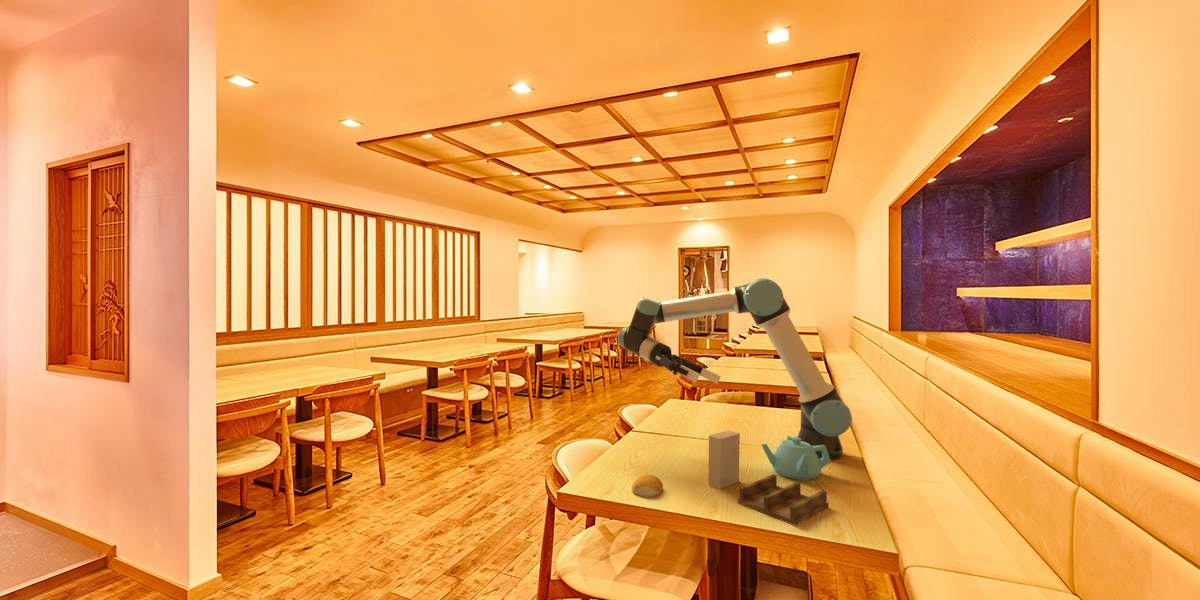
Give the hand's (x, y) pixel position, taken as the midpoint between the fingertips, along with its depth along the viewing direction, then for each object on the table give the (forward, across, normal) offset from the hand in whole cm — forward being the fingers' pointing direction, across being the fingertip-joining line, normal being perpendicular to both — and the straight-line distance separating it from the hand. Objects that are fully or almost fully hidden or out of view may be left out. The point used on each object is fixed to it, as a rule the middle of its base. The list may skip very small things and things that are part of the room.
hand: (708, 379), depth 147 cm
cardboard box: (+16, +1, -25) cm, 30 cm away
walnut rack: (+34, +4, -20) cm, 40 cm away
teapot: (+27, -21, -18) cm, 39 cm away
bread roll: (+5, +20, -32) cm, 38 cm away
